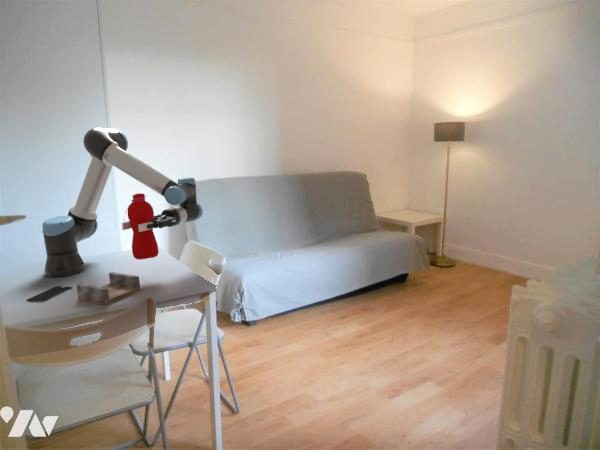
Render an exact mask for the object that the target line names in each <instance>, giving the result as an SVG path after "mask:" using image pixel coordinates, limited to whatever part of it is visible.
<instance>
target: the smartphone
mask: <svg viewBox="0 0 600 450" xmlns="http://www.w3.org/2000/svg"><path fill="white" fill-rule="evenodd" d="M71 289H73V287H72V286H61V285H60V286H59V285H58V286H54V287H51V288H49V289H47V290H45V291H42V292H41V293H40V292H39V294H36V295H33V296H32V297H30V298H27V299H26V300H25V301H28V302H27V303H38V302H40V303H41V302H42V303H45V301H46V302H47V301H50V300H51V299H53V298H55V297H58V296H60V295H61V294H64V293H65V292H67V291H70V290H71Z"/></svg>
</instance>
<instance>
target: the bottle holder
mask: <svg viewBox="0 0 600 450" xmlns="http://www.w3.org/2000/svg"><path fill="white" fill-rule="evenodd" d="M108 276H109V283H107V284H104V285H101V286H95V285H90V284H84V283H78V284H76V291H77V299H78V300H79V301H83V302H88V303H94V304H98V305H101V306H102V305H103V306H109V305H111V304H113V303H115V302H118V301H120V300H123V299H125V298H126V297H129V296H131V295H133V294H136V293H138V292H140V291H141V283H140V276H138V275H132V274H127V273H120V272H114V271H111V272H109V273H108Z"/></svg>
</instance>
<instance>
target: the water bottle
mask: <svg viewBox="0 0 600 450" xmlns="http://www.w3.org/2000/svg"><path fill="white" fill-rule="evenodd" d="M126 210H127V211H124V212H125V213H124V214H127V219H128V221H130V223H131V227H132V228H131V229H132V240H131V252H132V256H133V258H134V259H135V260H145V259H152V258H155V257H158V255H159V245H158V242H157V240H156V236H155V233H154V228H153V229H149V230H146V231H142V232H139V228H138V225H139V224H143V223H148V222H153V218H154V216H155V212H154V208H153V206H152V205H151V204H150V203H149V202H148V201H146V195H145V193H135V194H133V195H132V199H131V203H130V204H129V205H128V206H127V208H126ZM123 220H124V221H123V223H124V222H126V221H125V220H126V217H124V219H123ZM124 226H125V223H124ZM129 227H130V224H129ZM127 230H129V228H128V229H127Z"/></svg>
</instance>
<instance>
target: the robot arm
mask: <svg viewBox="0 0 600 450" xmlns="http://www.w3.org/2000/svg"><path fill="white" fill-rule="evenodd" d="M83 146H84V148H85V150H86V151H87V153H88V154H89V155H90V157H91V160H90V163H89V166H88V168H87V170H86V171H87V172H86V174H85V177H84V180H83V182H82V184H81V188H80V190H79V194H78V196H77V199H76V202H75V204H74V206H72V207H70V208H69V210H68V214H67V215H58V216H55V217H50V218H47V219H46V220H44V221H43V223H42V229H41V231H42V234H43V238H44V241H43V242H44V245H45V251H46V261H45V264H44V270H43V271H44V276H45V277H49V278H61V277H68V276H72V275H75V274H79V273H81V272H83V271H84V270H85V269H86V265H85V262H84V259H82V256H81V255H80V253H79V250H78V243H79V242H81V241H84V240H86V239H89V238H90V237H92V236H93V235H95V233H96V232H97V230H98V221H97V219H98V214H97V213H96V211H97V209H98V207H99V204H100V200H101V199H102V195H103V192H104V189H105V187H106V184H107V182H108V178H109V176H110V174H111V171H112V168H113V167H115V168H117V169H118V170H120V171H121V172H122V173H124V174H126V175H128V176H129V177H132V178H133V179H134V180H136V181H137V182H139V183H141V184H143V185H144V186H146V187H148V188H149V189H150V190H152V191H153V192H155V193H157V194H159V195H160V196H163V198H164V200H165V201H166V202H167V204H169V205H172V206H175V207H171V208H166V209H163V210H162V212H161V214H156V215H154V218H153V222H148V223H143V224H139V225H138V228H139V232H142V231H146V230H149V229H153V230H154V229H163V228H165V227H166V228H170V227H175V226H181V224H184V223H189V222H193V221H196V220H199V219H200V218H201V217H202V215H203V207H202V206H201V204H199V203H198V200H197V184H196V178H194V177H192V176H191V177H179V178H178V179H177V182H175V180H172V179H171V178H170V177H168V176H166V175H164V174H162V173H161V172H159V171H158V170H156V169H155V168H153V167H151V166H150V165H148V164H147V163H145V162H143V161H142V160H141V159H139V158H137V157H135V156H134V155H133V154H131V153H129V152H127V150H128V147H129V141H128V139H127V137H126V135H125V134H124V133H123V132H122V131H121V130H119V129H116V128H113V127H105V128H103V127H95V128H90V129H89V130H88V131H87V132H86V133H85V134H84V136H83ZM178 205H179V206H178ZM124 223H125V226H124ZM129 224H130V227H129ZM121 228H122V229H121V230H122V231H125V230H129V229H132V227H131V223H130V220H128V221H125V222H124V221H123V222H121ZM128 228H129V229H128Z"/></svg>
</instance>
